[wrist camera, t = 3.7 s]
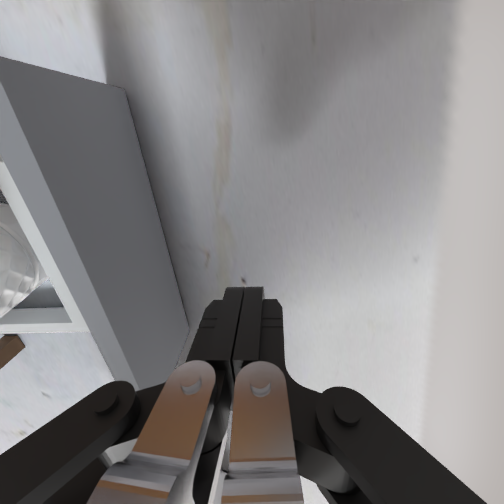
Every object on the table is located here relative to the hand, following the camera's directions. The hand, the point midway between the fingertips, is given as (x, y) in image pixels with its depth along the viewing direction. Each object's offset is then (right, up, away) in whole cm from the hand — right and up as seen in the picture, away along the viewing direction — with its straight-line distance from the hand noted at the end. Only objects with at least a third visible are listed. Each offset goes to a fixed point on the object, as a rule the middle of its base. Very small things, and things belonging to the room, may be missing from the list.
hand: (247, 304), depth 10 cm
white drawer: (-16, +3, +9) cm, 18 cm away
